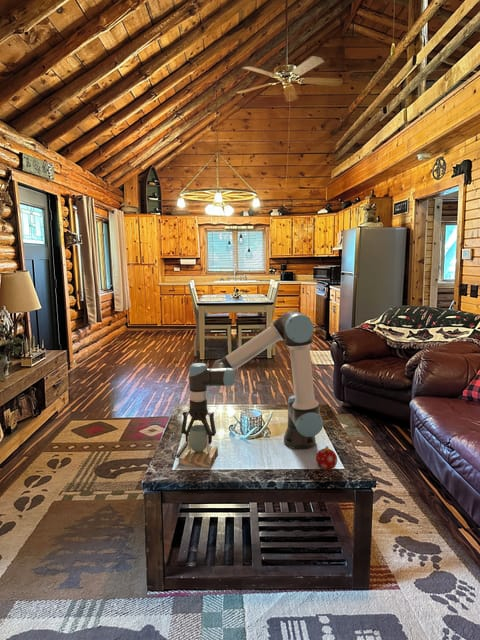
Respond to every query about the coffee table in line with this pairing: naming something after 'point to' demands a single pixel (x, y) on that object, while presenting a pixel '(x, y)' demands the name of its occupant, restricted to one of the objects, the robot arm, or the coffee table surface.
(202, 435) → the cup
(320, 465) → the christmas ornament
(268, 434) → the coffee table surface
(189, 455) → the pallet dock
